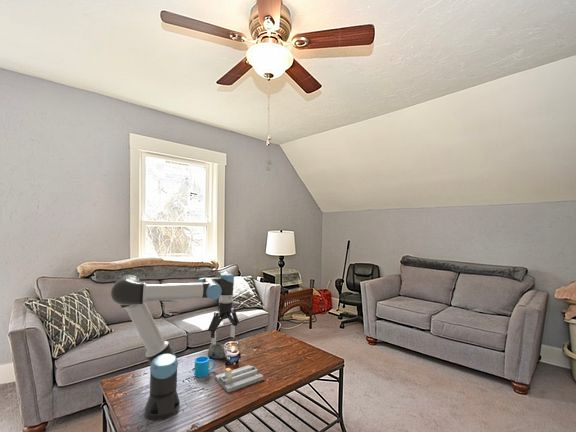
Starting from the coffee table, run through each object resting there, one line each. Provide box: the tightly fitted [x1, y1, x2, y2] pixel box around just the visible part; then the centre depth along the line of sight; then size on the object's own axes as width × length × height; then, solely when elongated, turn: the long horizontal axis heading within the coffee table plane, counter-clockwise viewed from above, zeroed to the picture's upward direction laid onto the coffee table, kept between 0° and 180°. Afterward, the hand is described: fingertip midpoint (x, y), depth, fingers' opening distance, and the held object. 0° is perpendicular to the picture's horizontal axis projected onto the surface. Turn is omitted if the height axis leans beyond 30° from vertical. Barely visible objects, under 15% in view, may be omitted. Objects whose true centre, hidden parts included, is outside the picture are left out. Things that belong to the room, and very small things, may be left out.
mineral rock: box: [207, 341, 226, 360], centre depth 189 cm, size 13×11×10 cm
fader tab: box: [224, 367, 233, 379], centre depth 159 cm, size 2×3×5 cm
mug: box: [193, 355, 216, 378], centre depth 170 cm, size 12×8×8 cm
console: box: [214, 364, 264, 393], centre depth 163 cm, size 22×16×4 cm
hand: (223, 340), depth 161 cm, fingers open, 13 cm apart
